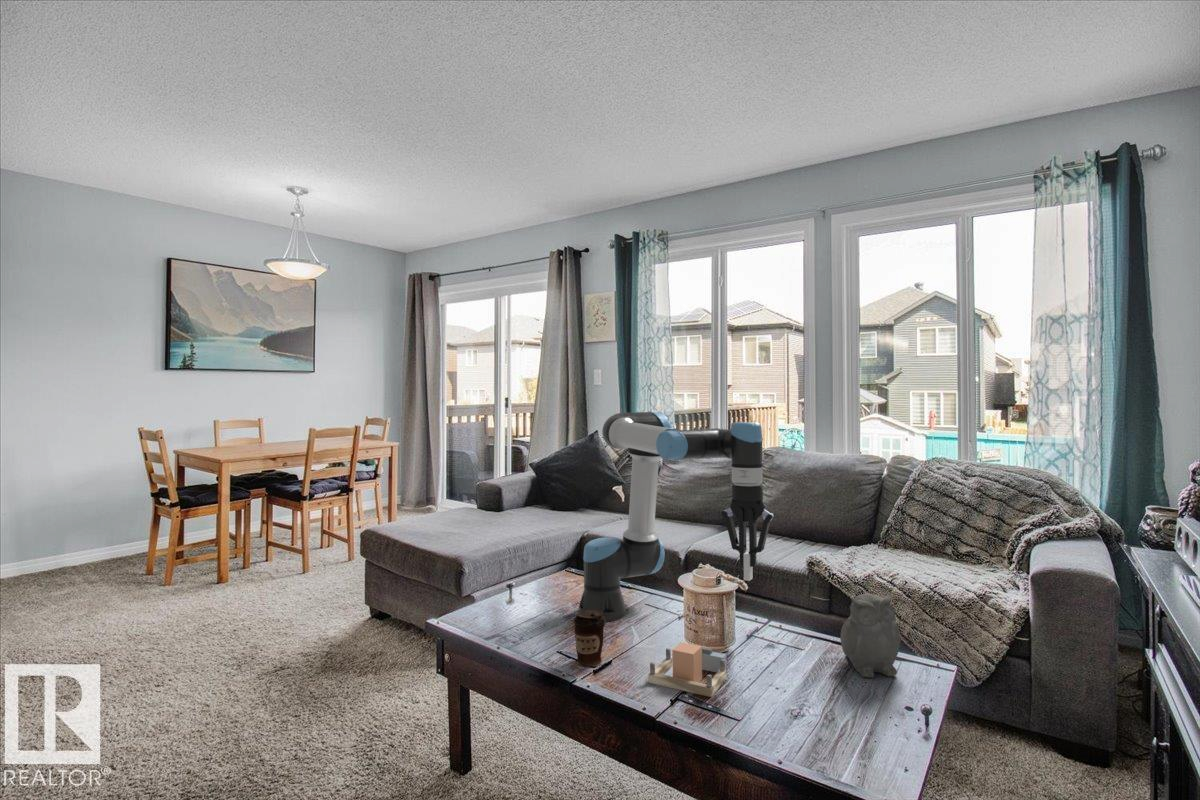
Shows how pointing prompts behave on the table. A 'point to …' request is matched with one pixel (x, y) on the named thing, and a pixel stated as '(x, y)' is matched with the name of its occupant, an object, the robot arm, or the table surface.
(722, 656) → the bar
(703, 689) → the cradle
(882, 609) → the figurine
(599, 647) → the coffee cup
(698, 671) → the block
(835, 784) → the table surface
